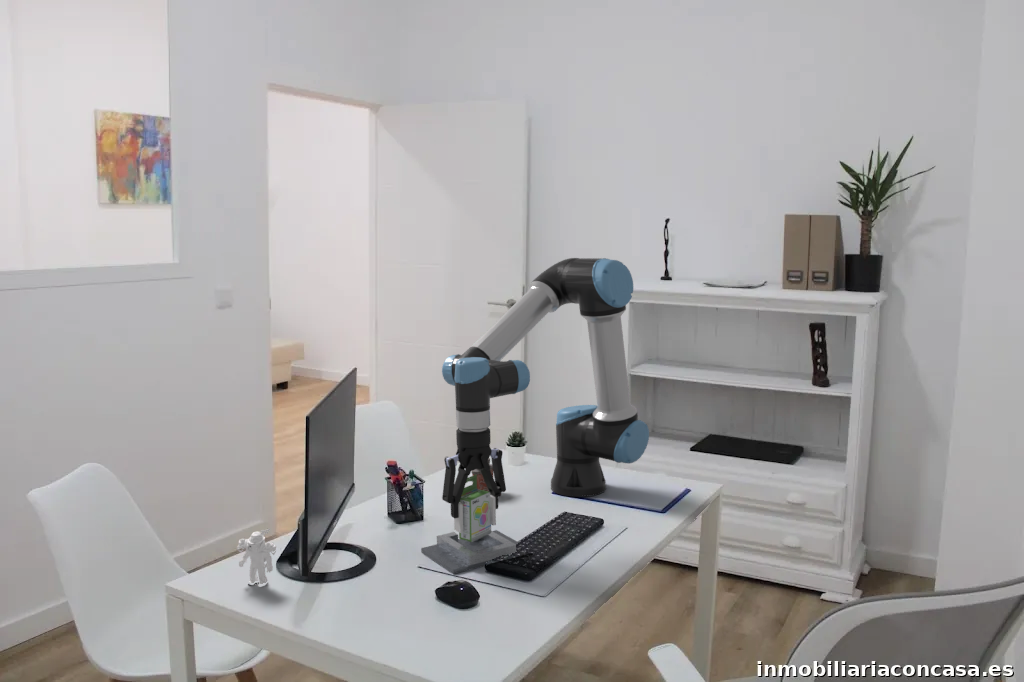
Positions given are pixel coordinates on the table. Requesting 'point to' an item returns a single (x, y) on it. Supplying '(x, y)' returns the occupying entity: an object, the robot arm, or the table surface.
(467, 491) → the ink box
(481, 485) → the lighter
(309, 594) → the table surface
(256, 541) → the flower shoulder figurine
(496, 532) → the chassis plate
